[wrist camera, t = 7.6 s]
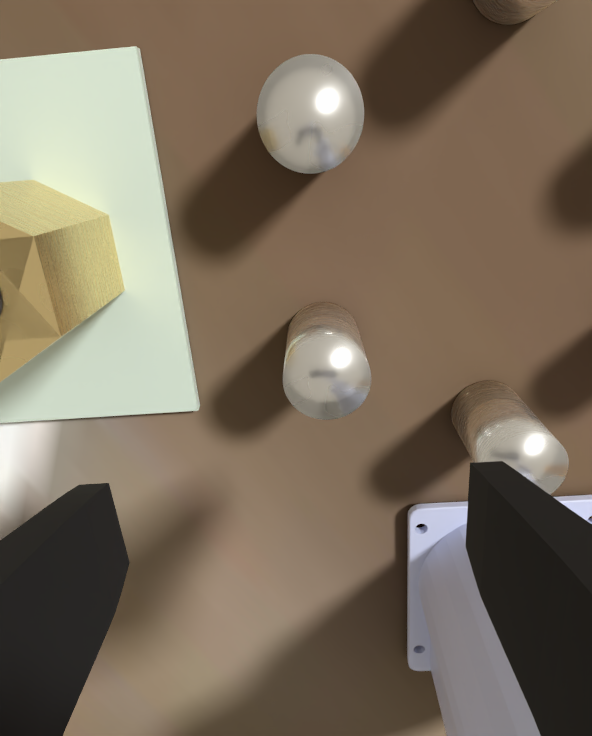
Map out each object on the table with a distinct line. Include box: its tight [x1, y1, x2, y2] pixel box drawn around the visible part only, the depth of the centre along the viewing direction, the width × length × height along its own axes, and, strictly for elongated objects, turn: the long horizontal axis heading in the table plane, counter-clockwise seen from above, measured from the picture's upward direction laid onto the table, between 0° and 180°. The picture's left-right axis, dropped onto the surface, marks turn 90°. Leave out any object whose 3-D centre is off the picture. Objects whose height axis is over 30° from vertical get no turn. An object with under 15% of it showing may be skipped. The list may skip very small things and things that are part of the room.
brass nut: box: [0, 180, 125, 382], centre depth 15 cm, size 5×4×5 cm
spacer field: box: [257, 0, 569, 495], centre depth 15 cm, size 17×15×4 cm
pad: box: [0, 46, 200, 423], centre depth 18 cm, size 12×8×1 cm, turn 5°
